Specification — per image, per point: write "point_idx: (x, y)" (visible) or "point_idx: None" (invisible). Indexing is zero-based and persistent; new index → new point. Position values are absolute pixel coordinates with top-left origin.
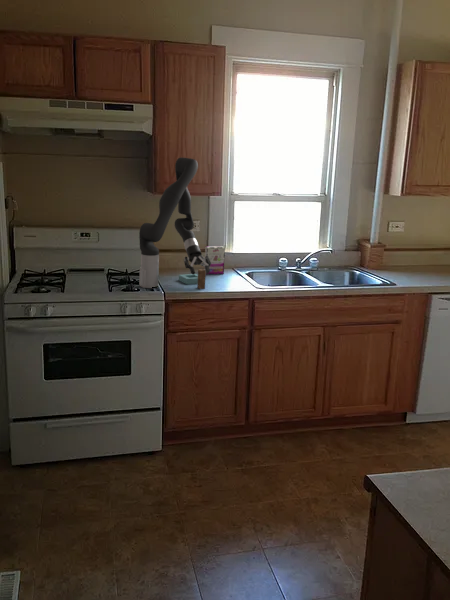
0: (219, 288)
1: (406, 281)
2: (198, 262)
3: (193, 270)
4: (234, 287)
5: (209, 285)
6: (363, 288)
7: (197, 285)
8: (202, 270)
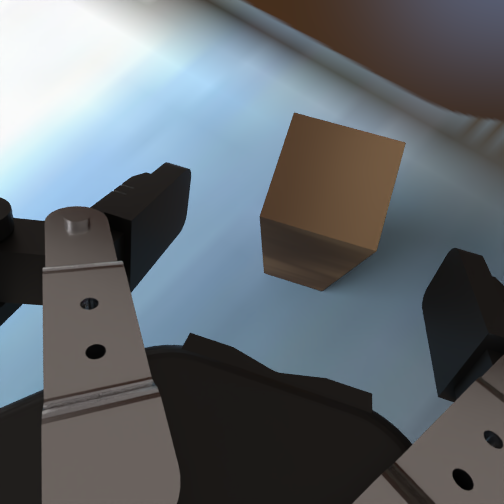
0: (153, 146)
1: None
2: (272, 372)
3: (486, 276)
4: (5, 100)
5: (133, 296)
6: None
7: (325, 287)
8: (363, 132)
